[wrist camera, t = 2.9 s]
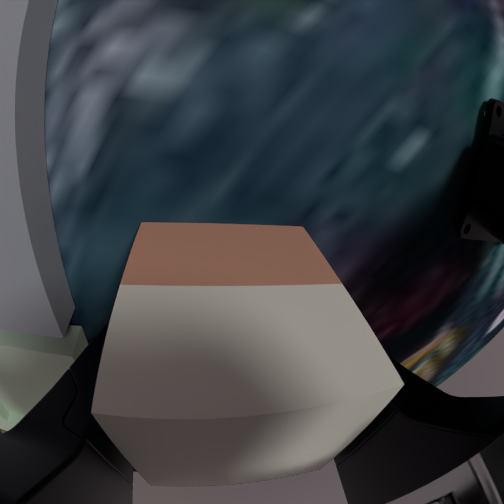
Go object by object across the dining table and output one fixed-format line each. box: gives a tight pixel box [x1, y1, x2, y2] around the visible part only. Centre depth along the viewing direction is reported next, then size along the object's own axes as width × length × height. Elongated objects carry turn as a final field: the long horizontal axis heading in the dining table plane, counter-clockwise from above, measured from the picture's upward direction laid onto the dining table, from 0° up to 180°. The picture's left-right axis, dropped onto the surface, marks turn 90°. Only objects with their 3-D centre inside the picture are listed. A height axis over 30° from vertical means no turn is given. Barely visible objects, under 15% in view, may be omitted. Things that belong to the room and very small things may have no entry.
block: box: [91, 222, 404, 486], centre depth 7 cm, size 5×5×6 cm
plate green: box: [0, 325, 88, 431], centre depth 11 cm, size 12×12×2 cm
